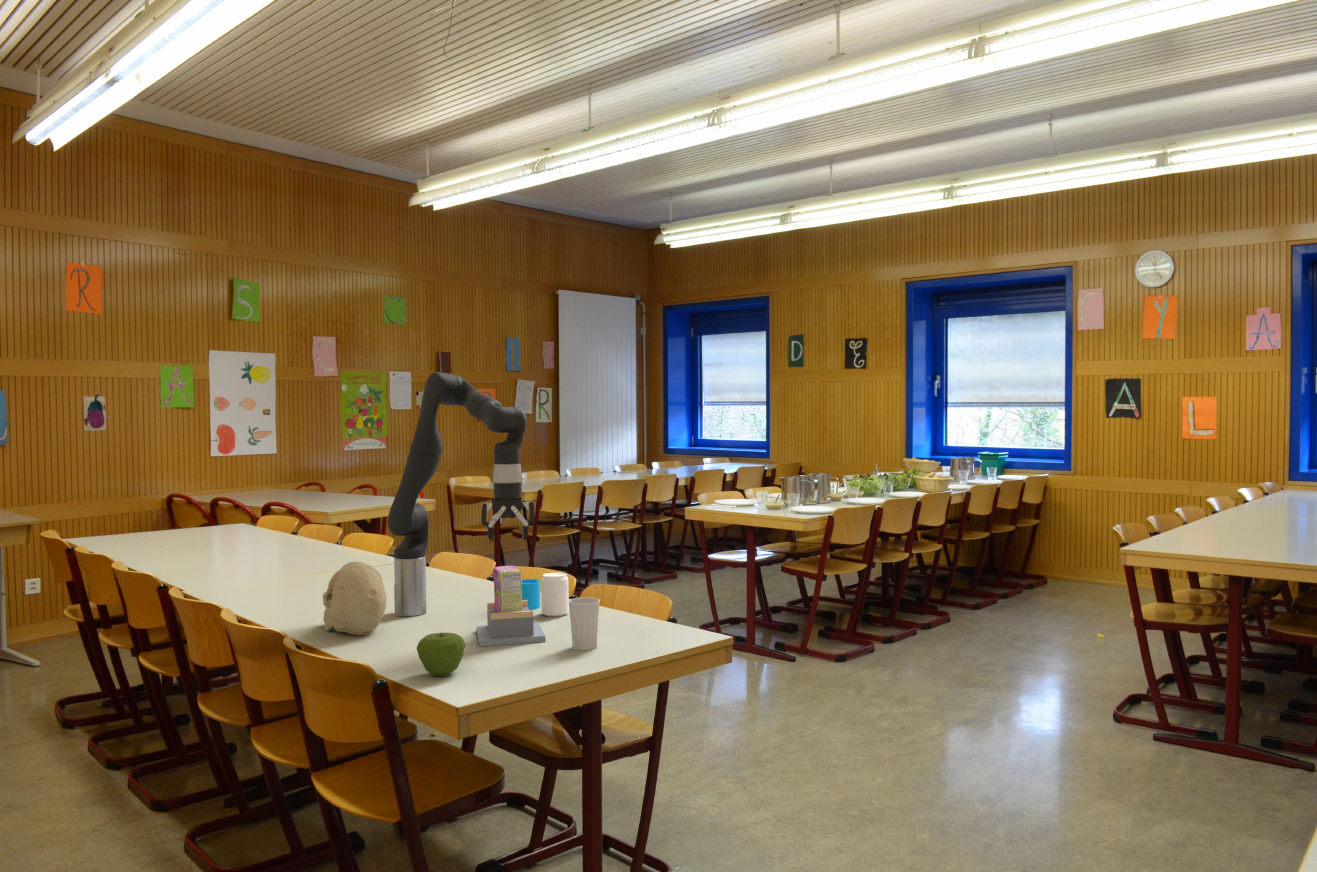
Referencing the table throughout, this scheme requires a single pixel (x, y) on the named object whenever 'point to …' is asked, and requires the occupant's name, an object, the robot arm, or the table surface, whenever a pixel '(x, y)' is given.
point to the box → (507, 589)
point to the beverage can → (554, 594)
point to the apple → (441, 653)
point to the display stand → (509, 627)
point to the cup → (584, 622)
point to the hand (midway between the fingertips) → (508, 540)
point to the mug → (531, 593)
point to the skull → (354, 599)
